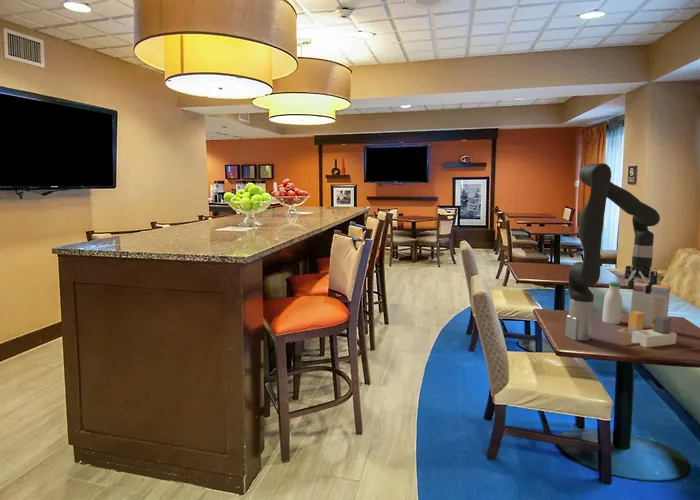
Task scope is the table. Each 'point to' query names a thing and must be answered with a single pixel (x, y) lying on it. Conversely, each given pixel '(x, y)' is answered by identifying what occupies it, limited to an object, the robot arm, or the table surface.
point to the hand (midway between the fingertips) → (639, 291)
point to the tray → (625, 332)
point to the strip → (655, 334)
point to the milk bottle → (612, 304)
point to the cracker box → (650, 303)
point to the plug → (635, 321)
